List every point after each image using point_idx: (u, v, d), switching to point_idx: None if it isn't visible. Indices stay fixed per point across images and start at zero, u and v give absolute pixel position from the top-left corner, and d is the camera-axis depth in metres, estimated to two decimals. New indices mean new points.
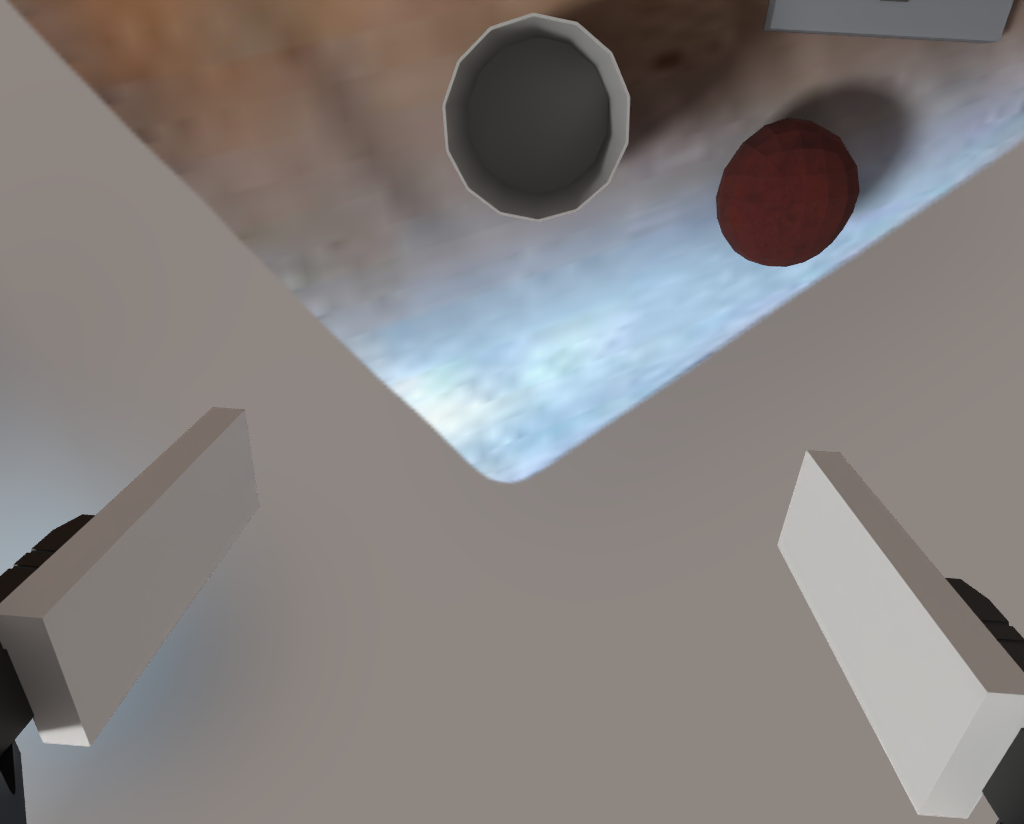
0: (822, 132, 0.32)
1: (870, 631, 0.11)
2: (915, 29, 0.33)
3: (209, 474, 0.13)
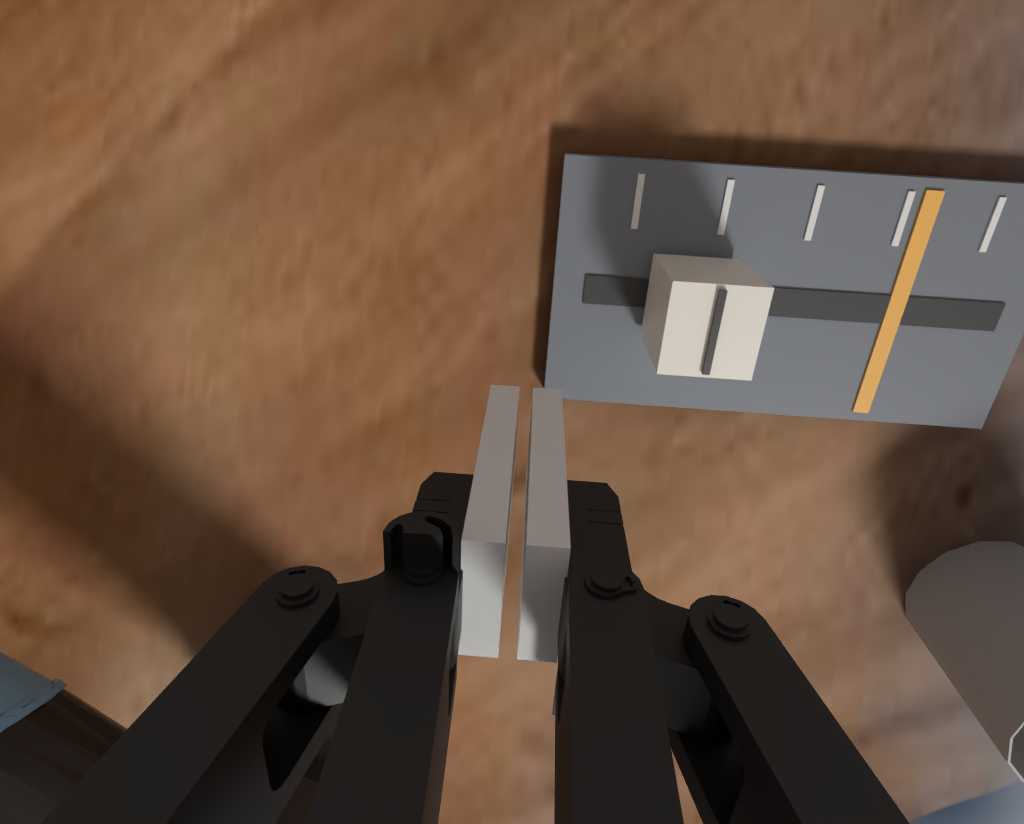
0: None
1: None
2: None
3: None
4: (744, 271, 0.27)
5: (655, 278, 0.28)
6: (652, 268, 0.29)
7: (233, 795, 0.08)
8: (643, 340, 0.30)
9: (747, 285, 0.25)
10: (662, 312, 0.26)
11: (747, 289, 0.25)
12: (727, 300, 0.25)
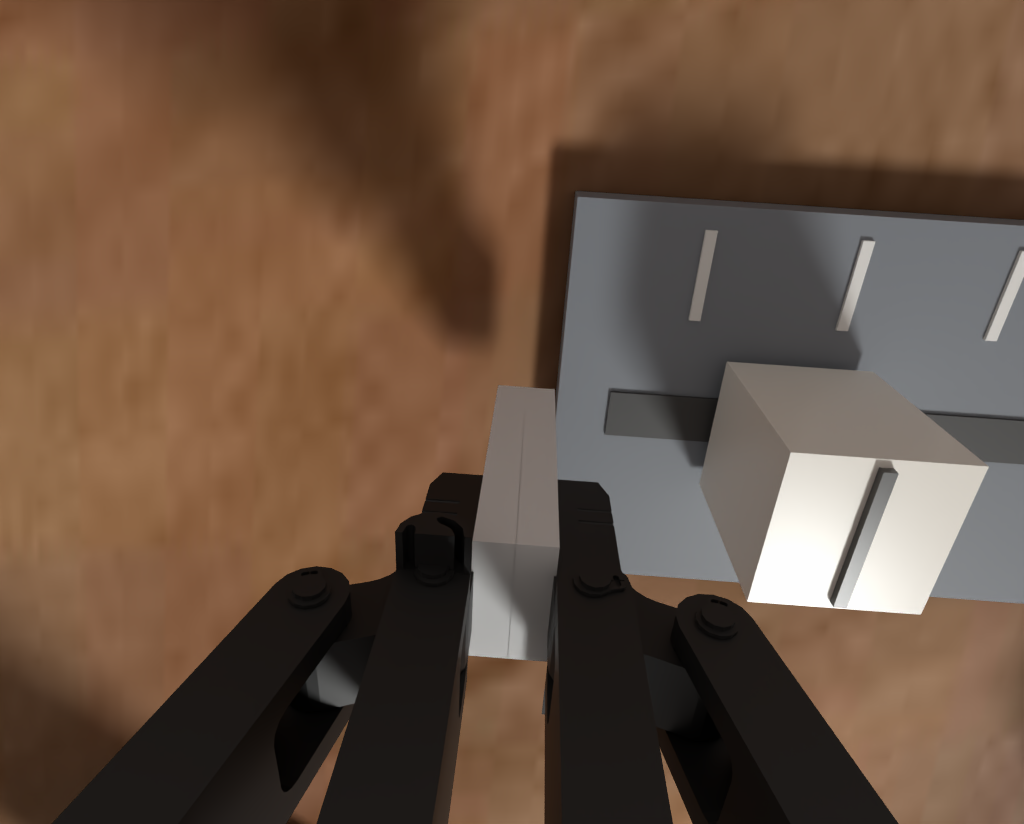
0: None
1: None
2: None
3: None
4: (902, 410, 0.15)
5: (735, 411, 0.16)
6: (725, 387, 0.17)
7: (244, 796, 0.08)
8: (706, 500, 0.18)
9: (934, 460, 0.13)
10: (759, 492, 0.14)
11: (935, 468, 0.13)
12: (894, 485, 0.13)
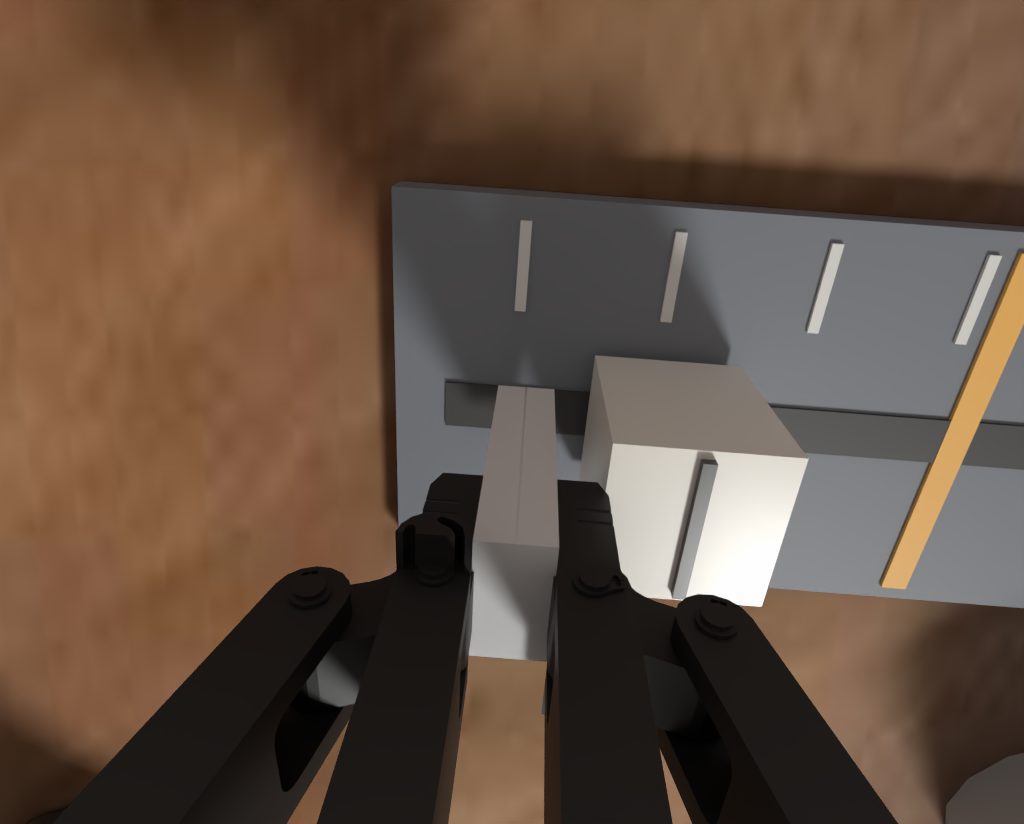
0: None
1: None
2: None
3: None
4: (749, 403, 0.15)
5: (595, 404, 0.16)
6: (593, 381, 0.17)
7: (245, 796, 0.08)
8: None
9: (756, 452, 0.13)
10: (599, 484, 0.14)
11: (756, 460, 0.13)
12: (718, 478, 0.13)
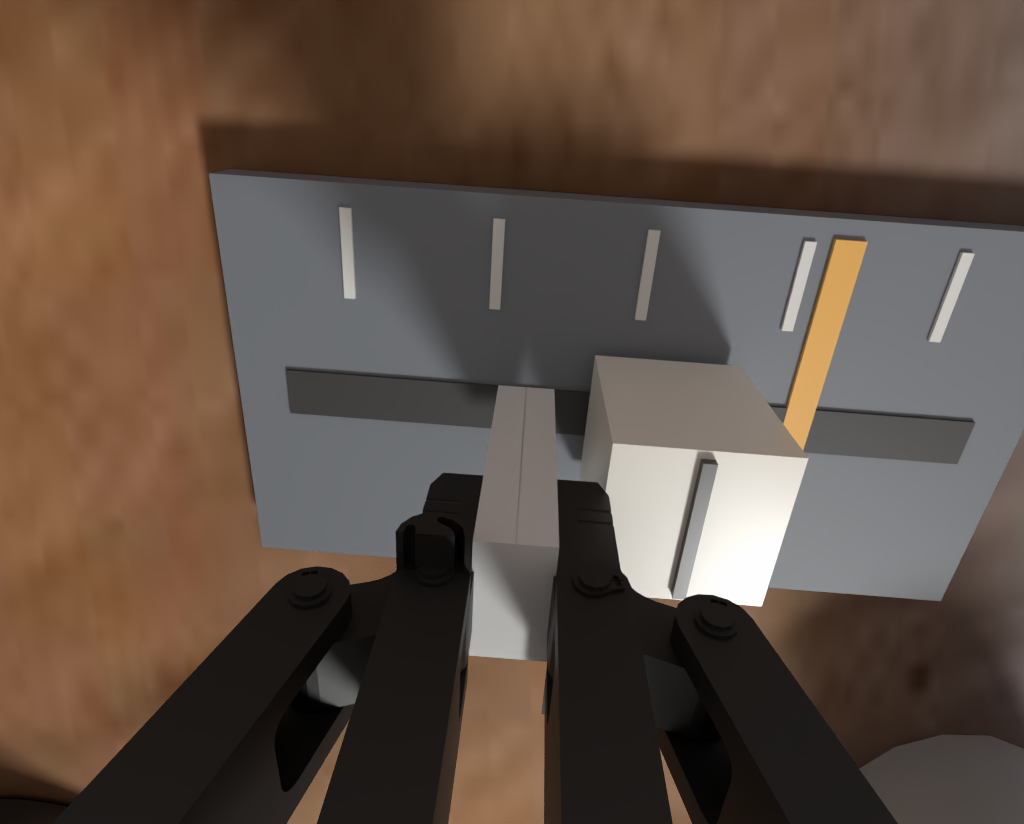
0: None
1: None
2: None
3: None
4: (749, 403, 0.15)
5: (595, 404, 0.16)
6: (593, 381, 0.17)
7: (245, 796, 0.08)
8: None
9: (756, 451, 0.13)
10: (599, 484, 0.14)
11: (756, 460, 0.13)
12: (718, 477, 0.13)
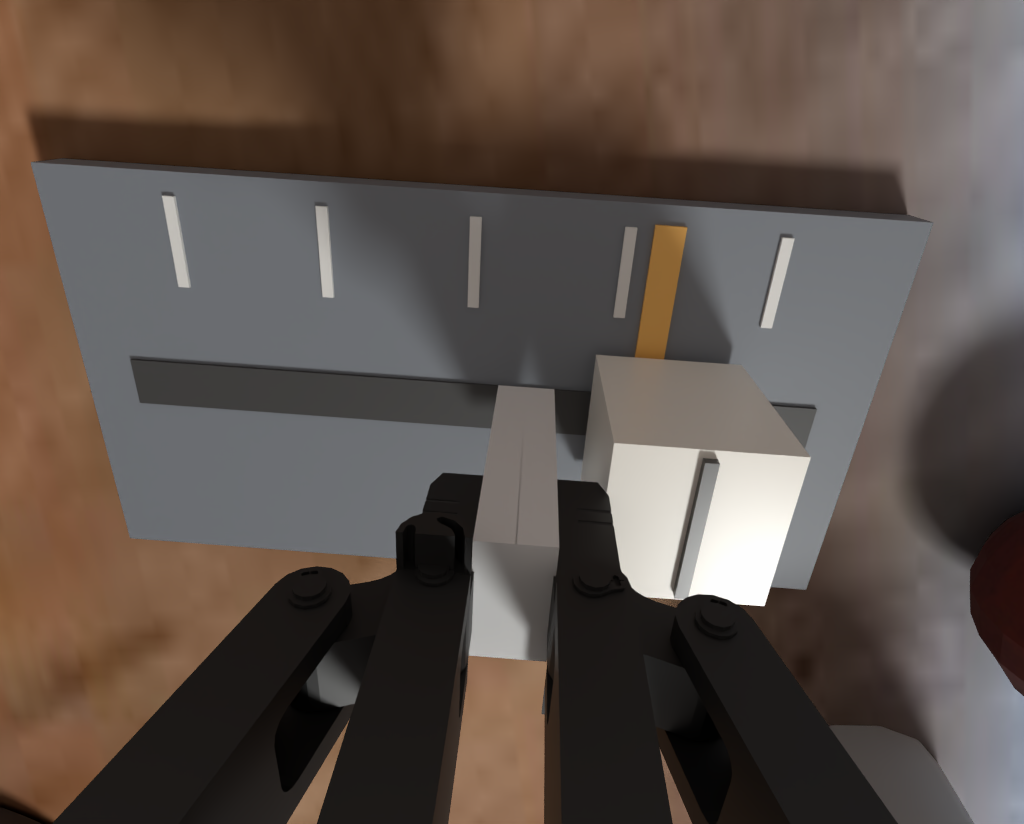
0: None
1: None
2: (865, 385, 0.18)
3: None
4: (751, 402, 0.15)
5: (596, 404, 0.16)
6: (594, 380, 0.17)
7: (245, 796, 0.08)
8: None
9: (758, 451, 0.13)
10: (601, 484, 0.14)
11: (758, 459, 0.13)
12: (719, 476, 0.13)
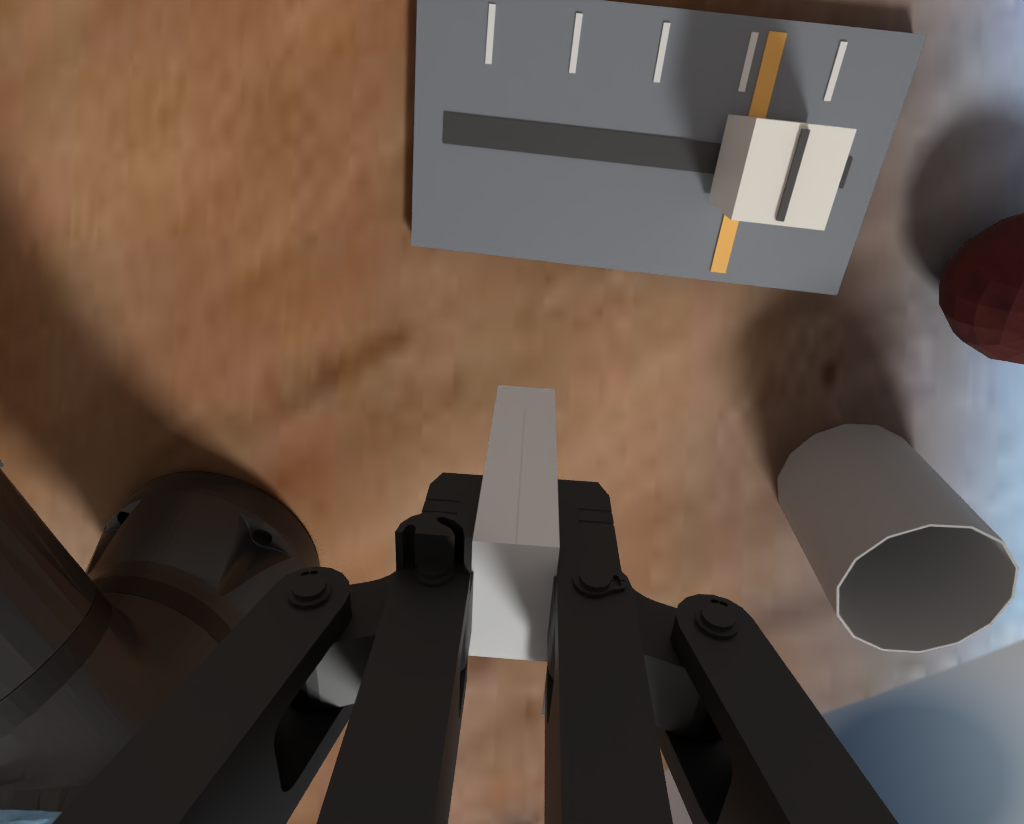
0: (988, 274, 0.29)
1: None
2: (882, 143, 0.30)
3: None
4: None
5: (731, 134, 0.29)
6: (726, 128, 0.30)
7: (244, 796, 0.08)
8: (712, 204, 0.31)
9: (830, 126, 0.25)
10: (740, 157, 0.27)
11: (829, 130, 0.25)
12: (809, 141, 0.25)
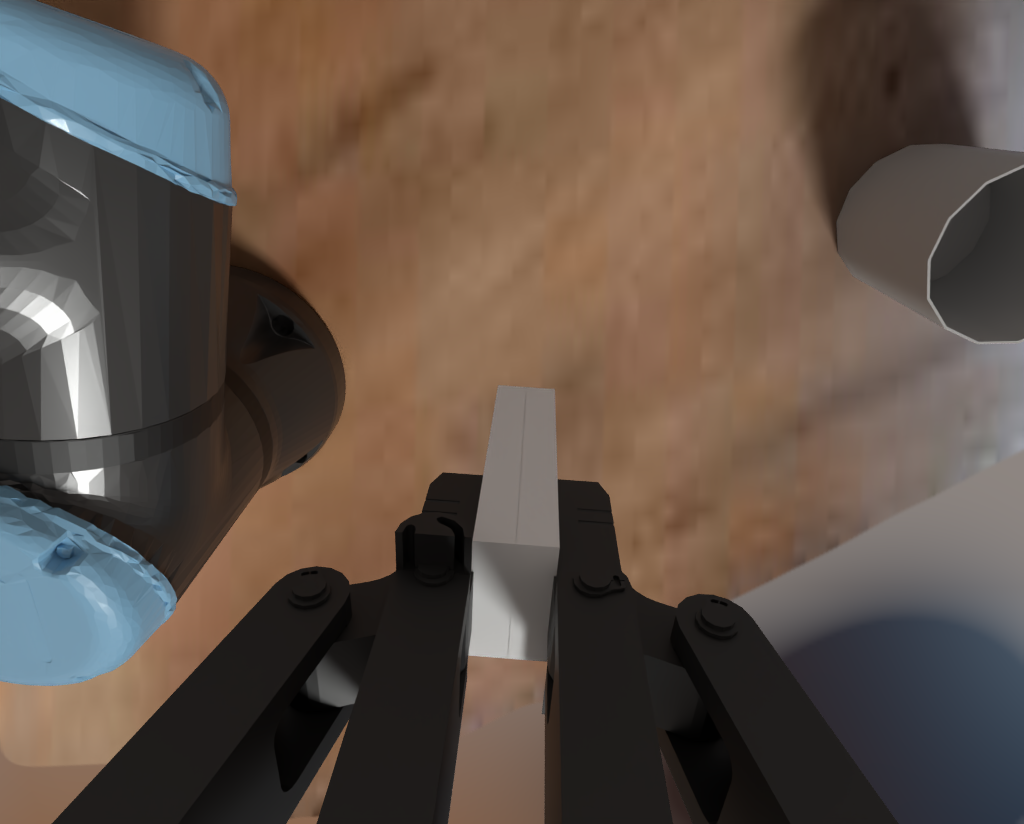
0: None
1: None
2: None
3: None
4: None
5: None
6: None
7: (244, 796, 0.08)
8: None
9: None
10: None
11: None
12: None
